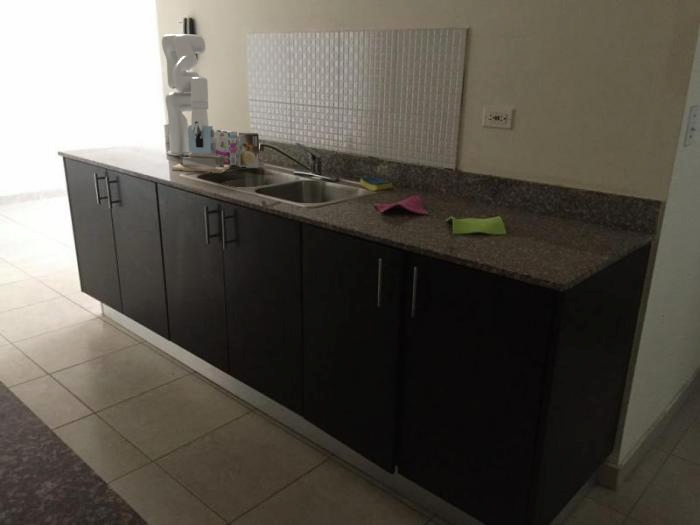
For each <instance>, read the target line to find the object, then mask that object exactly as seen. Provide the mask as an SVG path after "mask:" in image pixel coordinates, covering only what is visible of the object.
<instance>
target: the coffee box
mask: <svg viewBox="0 0 700 525" xmlns="http://www.w3.org/2000/svg"><path fill="white" fill-rule="evenodd" d="M259 137H260V136H259V133H258V132H238V157H239V158H238V159H239V165H240V166H239V167H240V168H241V167H246V168H245V169H254V168H255V169H260V143H259V142H260V139H259Z"/></svg>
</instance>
